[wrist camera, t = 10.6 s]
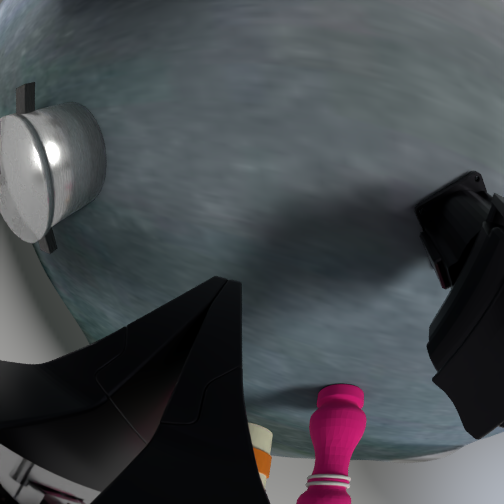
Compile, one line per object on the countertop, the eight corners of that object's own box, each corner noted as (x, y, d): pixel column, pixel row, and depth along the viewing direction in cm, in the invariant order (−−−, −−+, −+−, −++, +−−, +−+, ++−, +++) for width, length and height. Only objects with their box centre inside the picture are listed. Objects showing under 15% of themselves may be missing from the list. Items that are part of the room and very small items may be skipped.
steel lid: (46, 102, 13) (32, 105, 12) (68, 248, 20) (57, 257, 19) (-22, 128, 16) (-31, 132, 14) (-5, 221, 22) (-13, 226, 21)
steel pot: (105, 67, 17) (44, 72, 12) (115, 235, 27) (72, 270, 21) (40, 87, 19) (-7, 99, 14) (55, 218, 29) (17, 244, 23)
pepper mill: (309, 402, 34) (277, 530, 18) (321, 377, 30) (287, 533, 14) (356, 408, 32) (336, 535, 16) (375, 384, 29) (360, 536, 12)
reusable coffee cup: (261, 416, 40) (235, 493, 28) (292, 441, 44) (274, 505, 32) (207, 415, 46) (179, 478, 34) (241, 440, 50) (221, 495, 38)
